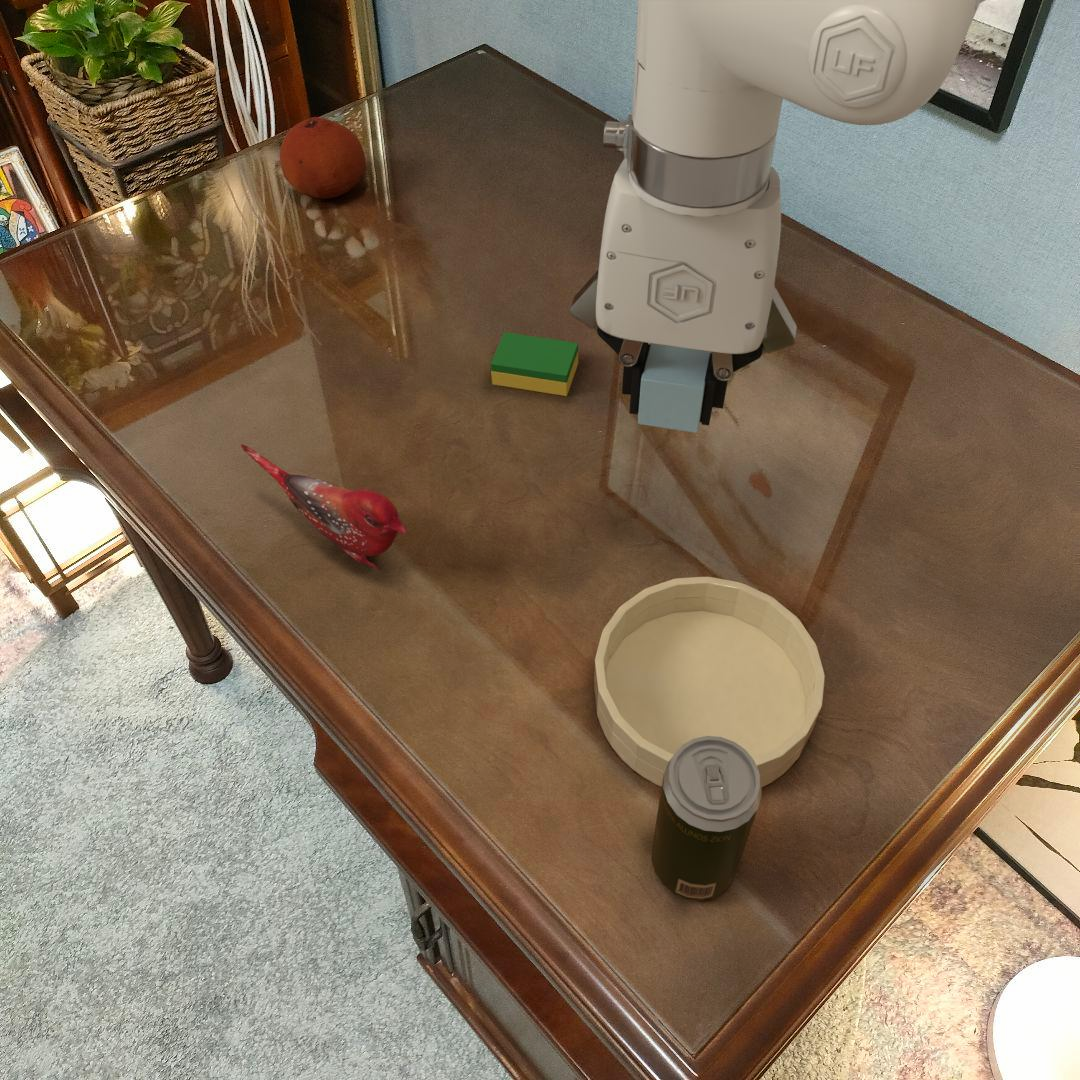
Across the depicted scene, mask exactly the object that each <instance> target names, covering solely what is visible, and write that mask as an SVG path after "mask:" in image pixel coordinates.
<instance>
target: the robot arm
mask: <svg viewBox="0 0 1080 1080" xmlns="http://www.w3.org/2000/svg"><path fill="white" fill-rule="evenodd" d="M985 1H986V0H637V15H636V16H637V17H636V20H637V21H636V36H635V37H636V38H635V57H634V75H633V93H632V108H631V109H632V110H631V113H630V114H628V116H627V119H620V121H613V120H607V121H605V124H604V129H603V138H602V145H603V146H602V147H603V148H606V149H616V152H618V153H623V160H622V161H621V163H620V164H619V166H618V169H617V170H616V172H615V174H614V177H613V180H612V183H611V187H610V190H609V195H608V199H607V203H606V207H605V208H606V210H605V214H604V220H603V226H602V227H603V228H602V233H601V234H602V235H601V241H600V242H601V243H600V251H599V262H598V270H596V272H595V273H594V274H593V275H592V276H591V277H590V278H589V280H587V282H585V284H584V285H583V286H582V287H581V288H580V290H579V291H578V292H577V293H576V294H575V295H574V297H573V299H572V303H571V305H570V307H569V308H570V309H569V313H570V315H571V316H572V317H574V318H575V319H577V320H578V321H579V322H581V323H582V324H584V325H586V326H587V327H588V328H590V329H591V330H593V329H594V330H595V331H596V333H597V335H598V336H599V338H600V339H601V340H602V341H604V343H606V345H607V346H609V347H610V348H611V350H613V351H614V352H615V353H616V355H618V357H617V360H618V363H619V364H620V365H621V366H622V383H621V384H622V385H621V394H622V395H628V396H630V399H629V411H628V412H629V414H631V415H636V416H638V413H639V400H640V388H641V378H642V374H643V372H644V369H645V365H646V361H647V357H648V354H649V350H650V346H651V344H650V343H653V344H661V345H668V346H675V347H682V348H689V349H696V350H703V351H711V352H712V353H710V356H709V361H708V366H707V371H706V376H705V388H704V395H703V402H702V409H701V416H700V425H702V426H710V422H711V417H712V411H713V408H715V409H721V410H723V409H724V406H725V405H724V404H725V399H726V394H727V389H728V388H727V386H728V382H729V381H730V380H731V379H732V378H733V377H734V373H735V372H737V371H739V370H740V369H743V368H745V367H746V366H748V365H750V364H752V363H754V362H756V361H757V360H759V359H760V358H761V357H762V355H765V354H768V355H769V354H773V353H775V352H778V351H781V350H784V349H787V348H790V347H793V346H794V345H795V344H796V339H797V332H798V327H797V324H796V322H795V320H794V319H793V316H792V315H791V313H790V312H789V310H788V308H787V306H786V304H785V302H784V300H783V298H782V297H781V295H780V293H779V291H778V290H777V288H776V286H775V282H776V276H777V268H778V260H779V252H780V243H781V233H782V195H781V194H782V193H781V191H782V190H781V181H780V177H779V174H778V172H777V171H776V169H775V168H774V166H772V163H773V158H774V151H775V145H776V139H777V134H778V129H779V122H780V117H781V116H780V115H781V112H782V111H781V110H782V106H783V100H785V101H787V102H789V103H792V104H794V105H796V106H798V107H800V108H803V109H805V110H807V111H810V112H812V113H813V114H814V113H815V114H817V115H819V116H822V117H824V118H827V119H829V120H833V121H837V122H840V123H845V124H850V125H854V126H855V125H856V126H881V125H886V124H890V123H894V122H896V121H899V120H901V119H904V118H906V117H908V116H910V115H912V114H913V113H915V112H916V111H918V110H919V109H921V108H922V107H923V106H924V105H925V104H927V103H928V102H929V101H930V100H931V99H932V98H933V97H934V96H935V95H936V93H938V91H939V89H940V88H941V87H942V85H943V84H944V82H945V80H946V79H947V78H948V76H949V75H950V73H951V71H952V69H953V66H954V64H955V62H956V60H957V57H958V55H959V53H960V50H961V48H962V46H963V43H964V42H965V38H966V36H967V35H968V32H969V29H970V27H971V26H972V22H973V21H974V18H975V15H976V13H977V10H978V9H979V6H980V4H981V3H984V2H985Z"/></svg>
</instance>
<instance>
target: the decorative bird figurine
mask: <svg viewBox="0 0 1080 1080" xmlns="http://www.w3.org/2000/svg"><path fill="white" fill-rule="evenodd" d="M240 447H241V448H242V450H243V451H244V452H245V453H246V454H247V455H248V456H249V457H251V459H252V460H254V461H255V463H256V464H258V465H259V467H261V468H262V469H263V470H264V471H265V472H266V473H268V474H269V475H270V476H271V477H272V478H273V479H274V480H275V481H276V482H277V483H278V484H279V486H280V487H281V488H282V489H283V491H284V493H285V494H286V495H287V497H288V499H289V500H290V502H291V503H292V505H293V506H294V508H295V509H296V510H297V511H298V512H299V513H300V514H301V515H302V516H304V518H305V519H306V520H307V521H308V522H309V523H310V524H311V525H312V526H313V527H314V528H315V529H316V530H317V531H318V532H319V533H320V534H321V535H322V536H323V537H324V538H326V539H327V540H328V541H330V542H332V543H333V544H335V545H336V546H338V548H340V549H341V550H343V552H345V553H346V555H349V556H350V557H352V558H353V559H354V560H356V561H357V562H358V563H361V564H365V565H368V566H369V567H371V568H374V569H376V570H377V571H381V569H380V568H379V567H378V566H377V565H375V564H374V563H372V562H371V561H369V560H368V558H367V557H374V556H375V557H376V556H379V555H381V554H384V553H385V552H386V551H387V550H389V549H390V548H391V547H392V545H393V544H394V541H395V539H396V538H397V535H398V533H402V534H405V535H408V532H407V530H406V528H405V526H404V524H403V522H402V521H401V518H400V514H399V512H398V509H397V507H395V505H394V503H393V502H392V501H391V500H390V499H389V498H388V497H387V496H385V495H384V494H382V493H381V492H378V491H375V490H372V489H367V488H363V489H362V488H360V489H357V490H352V489H348V488H345V487H342V486H340V485H337V484H335V483H332V482H329V481H326V480H323V479H319V478H316V477H310V476H307V475H301V474H292V473H288V472H286V471H285V470H284V469H282V468H280V466H279V467H278V466H277V465H276V464H275V463H273V462H272V461H271V460H268V458H266V457H264V456H263V455H261V454H260V453H259V452H257V451H255V450H254V449H253V448H251V447H250V446H247V445H245V444H240Z"/></svg>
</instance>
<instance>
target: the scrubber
mask: <svg viewBox="0 0 1080 1080" xmlns="http://www.w3.org/2000/svg"><path fill="white" fill-rule="evenodd" d="M491 359H492V360H491V361H490V375H491V385H495V386H499V387H506V388H512V389H518V390H519V389H520V390H524V391H531V392H538V393H543V394H549V395H556V396H561V397H562V396H563V397H567V396H568V394H569V392H570V388H571V386H572V383H573V381H574V378H575V374H576V371H577V368H578V366H579V343H578V342H573V341H566V340H561V339H553V338H548V337H547V338H546V337H540V336H534V335H527V334H520V333H513V332H508V331H507V332H506V331H504V332H503V334H502V336H501V339H500V341H499V343H498V345H497V347H496V350H495V352H494V355H493V357H492V358H491Z"/></svg>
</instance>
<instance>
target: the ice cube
mask: <svg viewBox="0 0 1080 1080" xmlns="http://www.w3.org/2000/svg"><path fill="white" fill-rule="evenodd" d="M649 344H651V346H650V350H649V354H648V357H647V361H646V365H645V369H644V372H643V374H642V378H641V388H640V400H639V413H638V414H637V424H638V425H641V426H642V425H643V426H648V427H656V428H662V429H668V430H674V431H680V432H688V433H692V434H693V433H694V434H698V432H699V429H700V425H701V422H700V416H701V409H702V402H703V395H704V388H705V376H706V371H707V366H708V361H709V356H710V353H712V352H711V351H703V350H696V349H689V348H682V347H675V346H668V345H661V344H653V343H649Z"/></svg>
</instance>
